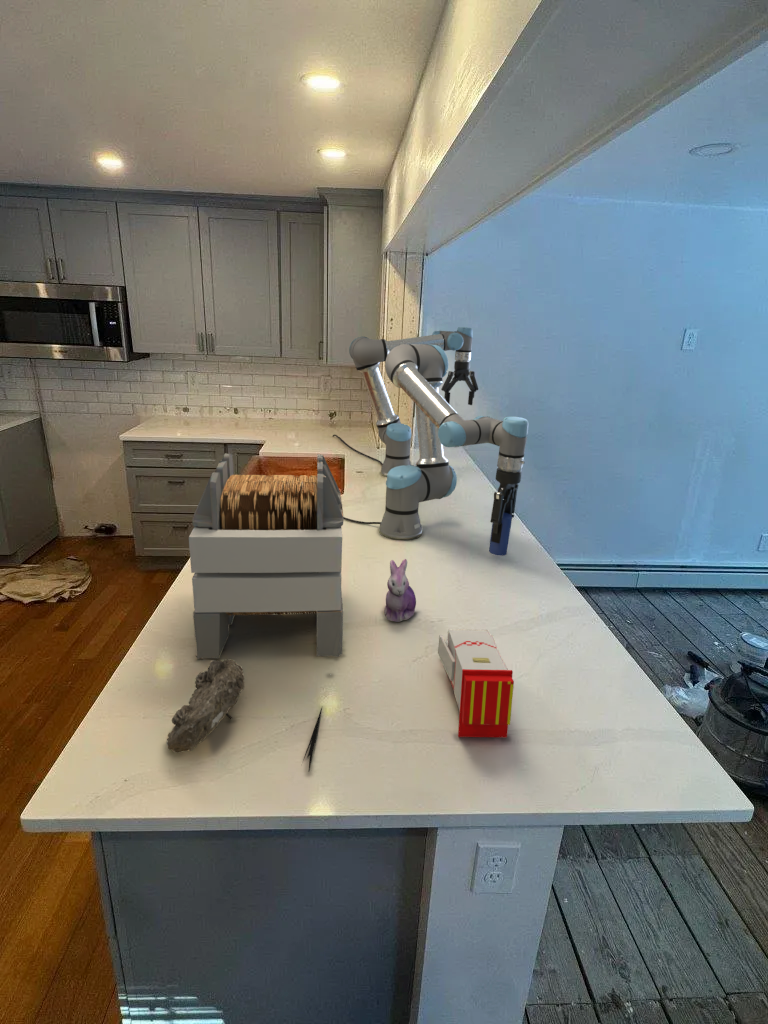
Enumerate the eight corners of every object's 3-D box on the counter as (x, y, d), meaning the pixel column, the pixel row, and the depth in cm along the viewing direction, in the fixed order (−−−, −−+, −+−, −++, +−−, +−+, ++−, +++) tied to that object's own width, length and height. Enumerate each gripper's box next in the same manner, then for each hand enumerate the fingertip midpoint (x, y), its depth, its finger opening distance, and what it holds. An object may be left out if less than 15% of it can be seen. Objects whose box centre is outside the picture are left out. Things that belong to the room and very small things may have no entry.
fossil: (192, 660, 117) (244, 628, 112) (224, 691, 120) (276, 661, 115) (142, 746, 98) (202, 712, 93) (182, 779, 101) (242, 748, 96)
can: (504, 557, 178) (509, 520, 173) (486, 553, 180) (491, 516, 176) (508, 550, 183) (514, 514, 178) (491, 546, 185) (496, 510, 180)
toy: (488, 613, 130) (523, 677, 101) (484, 667, 133) (517, 744, 104) (435, 612, 130) (455, 676, 101) (432, 666, 133) (451, 743, 103)
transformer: (219, 588, 156) (210, 443, 142) (338, 587, 160) (340, 446, 146) (193, 661, 124) (179, 483, 110) (343, 657, 128) (346, 485, 114)
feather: (331, 679, 122) (336, 673, 122) (307, 777, 96) (313, 769, 95) (324, 675, 122) (329, 669, 121) (298, 772, 95) (304, 764, 95)
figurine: (392, 627, 141) (395, 572, 136) (374, 608, 149) (376, 556, 144) (425, 619, 145) (429, 566, 140) (405, 601, 154) (408, 550, 149)
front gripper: (508, 478, 162) (498, 551, 171) (532, 465, 177) (521, 533, 185) (484, 472, 166) (475, 544, 174) (510, 460, 181) (500, 527, 189)
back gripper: (444, 361, 264) (441, 407, 272) (488, 361, 275) (483, 405, 283) (436, 360, 271) (433, 404, 278) (479, 360, 282) (475, 403, 289)
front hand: (499, 538), depth 180 cm, fingers closed on can, 6 cm apart
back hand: (458, 405), depth 280 cm, fingers open, 13 cm apart
